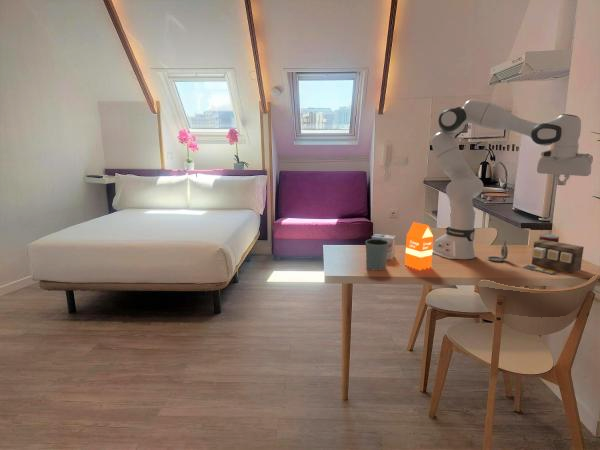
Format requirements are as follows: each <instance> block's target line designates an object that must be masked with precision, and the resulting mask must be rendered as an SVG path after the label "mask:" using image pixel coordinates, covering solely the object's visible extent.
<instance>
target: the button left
mask: <svg viewBox="0 0 600 450" xmlns="http://www.w3.org/2000/svg"><path fill="white" fill-rule="evenodd" d="M547 249H548V248H545V247H540V246H538V247H535V248H534V247H533V248H532V257H536V258H540V259H542V258H545V257H546V256H547ZM532 257H531V258H532Z"/></svg>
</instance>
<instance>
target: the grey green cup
mask: <svg viewBox="0 0 600 450" xmlns="http://www.w3.org/2000/svg"><path fill="white" fill-rule="evenodd" d="M387 250H388V241H386V240H381V239H372V238H371V239H370V238H369V239H367V240H365V253H366V255H365V257H366V258H365V260H366V261H365V263H366V264H365V266H366V268H367V269H368V268H369V270H371V269H374V270H373V271H380V270H379V269H383V270H385V269H386V265H387V259H386V258H387ZM384 268H385V269H384Z"/></svg>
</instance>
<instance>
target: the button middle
mask: <svg viewBox="0 0 600 450" xmlns="http://www.w3.org/2000/svg"><path fill="white" fill-rule="evenodd" d="M559 257H560V250H556V249H549V250H548V254H547V258H548V259H553V260H559Z"/></svg>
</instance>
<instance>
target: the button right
mask: <svg viewBox="0 0 600 450" xmlns="http://www.w3.org/2000/svg"><path fill="white" fill-rule="evenodd" d="M573 255H574V253H571V252H566V251H563V252H561V256H560V261H562V262H567V263H571V262H573Z"/></svg>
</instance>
